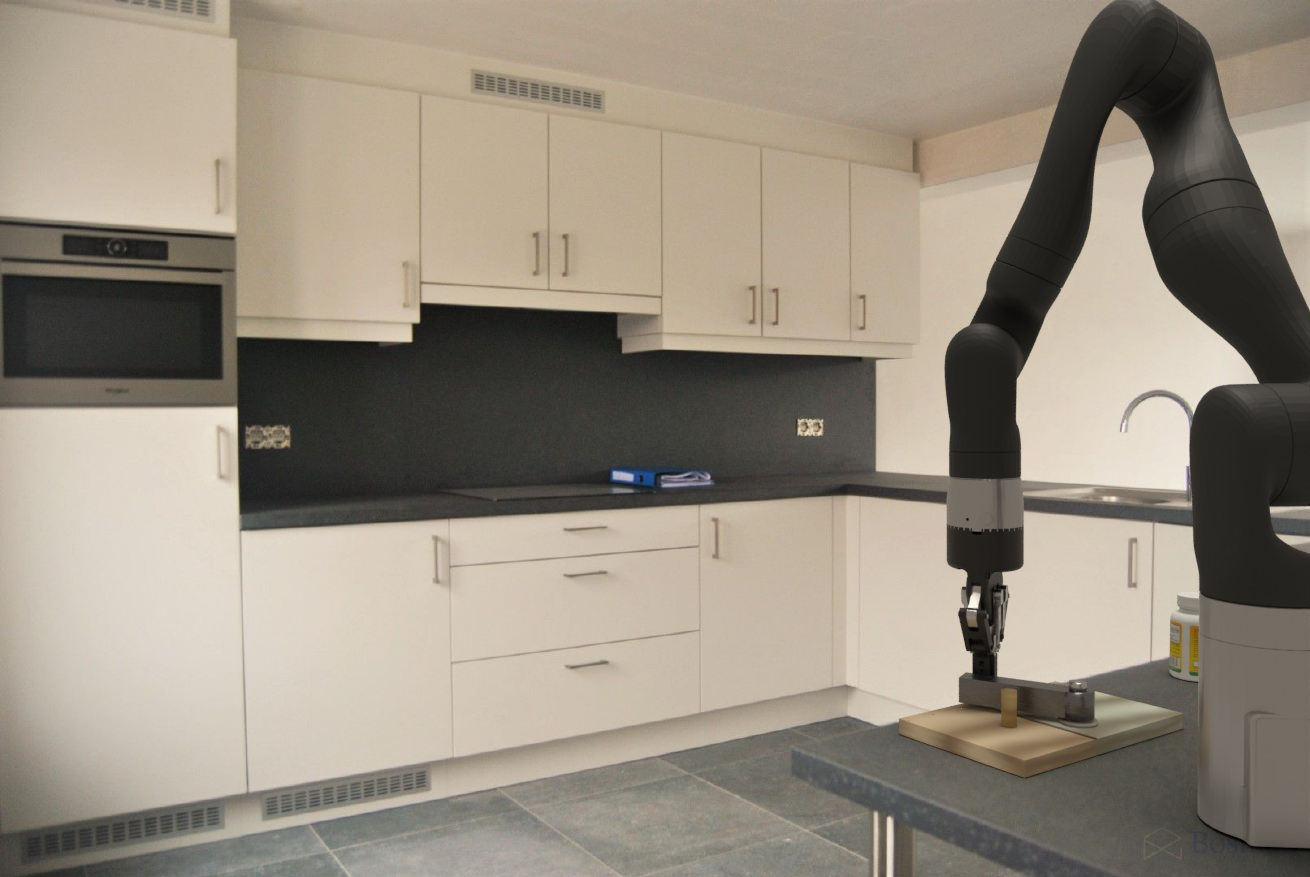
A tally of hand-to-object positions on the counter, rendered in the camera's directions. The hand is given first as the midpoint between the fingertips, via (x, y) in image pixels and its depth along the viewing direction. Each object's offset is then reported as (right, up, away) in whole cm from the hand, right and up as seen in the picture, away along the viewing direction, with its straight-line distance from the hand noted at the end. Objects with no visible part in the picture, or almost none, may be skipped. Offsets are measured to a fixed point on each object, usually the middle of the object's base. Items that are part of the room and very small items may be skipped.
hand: (984, 688), depth 108 cm
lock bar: (+2, -1, -5) cm, 6 cm away
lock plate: (+4, -3, -6) cm, 7 cm away
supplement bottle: (+29, -2, +14) cm, 32 cm away
